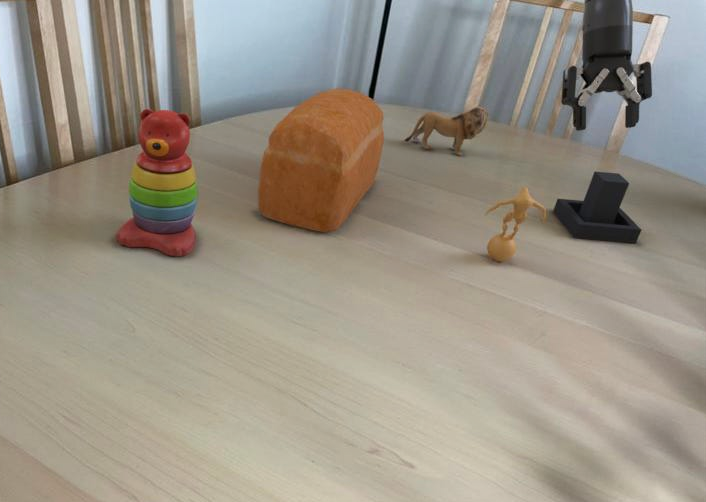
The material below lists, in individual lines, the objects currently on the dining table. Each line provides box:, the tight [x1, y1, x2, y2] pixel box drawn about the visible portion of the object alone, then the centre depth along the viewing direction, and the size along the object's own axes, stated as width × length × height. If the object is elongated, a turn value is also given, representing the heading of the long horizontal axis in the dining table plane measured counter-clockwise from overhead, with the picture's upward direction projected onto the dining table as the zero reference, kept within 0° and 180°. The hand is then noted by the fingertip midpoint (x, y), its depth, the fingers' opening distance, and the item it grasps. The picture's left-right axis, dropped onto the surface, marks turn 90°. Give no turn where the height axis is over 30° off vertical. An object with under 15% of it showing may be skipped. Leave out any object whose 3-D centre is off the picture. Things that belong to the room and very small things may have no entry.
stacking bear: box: [115, 108, 199, 257], centre depth 101 cm, size 11×10×18 cm
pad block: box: [578, 170, 630, 224], centre depth 119 cm, size 4×4×8 cm
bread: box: [257, 88, 385, 233], centre depth 118 cm, size 14×26×16 cm, turn 157°
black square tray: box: [552, 198, 642, 244], centre depth 121 cm, size 10×10×2 cm
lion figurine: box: [403, 106, 490, 156], centre depth 145 cm, size 15×5×9 cm, turn 79°
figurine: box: [484, 187, 547, 262], centre depth 105 cm, size 8×6×12 cm
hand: (605, 128), depth 127 cm, fingers open, 8 cm apart
